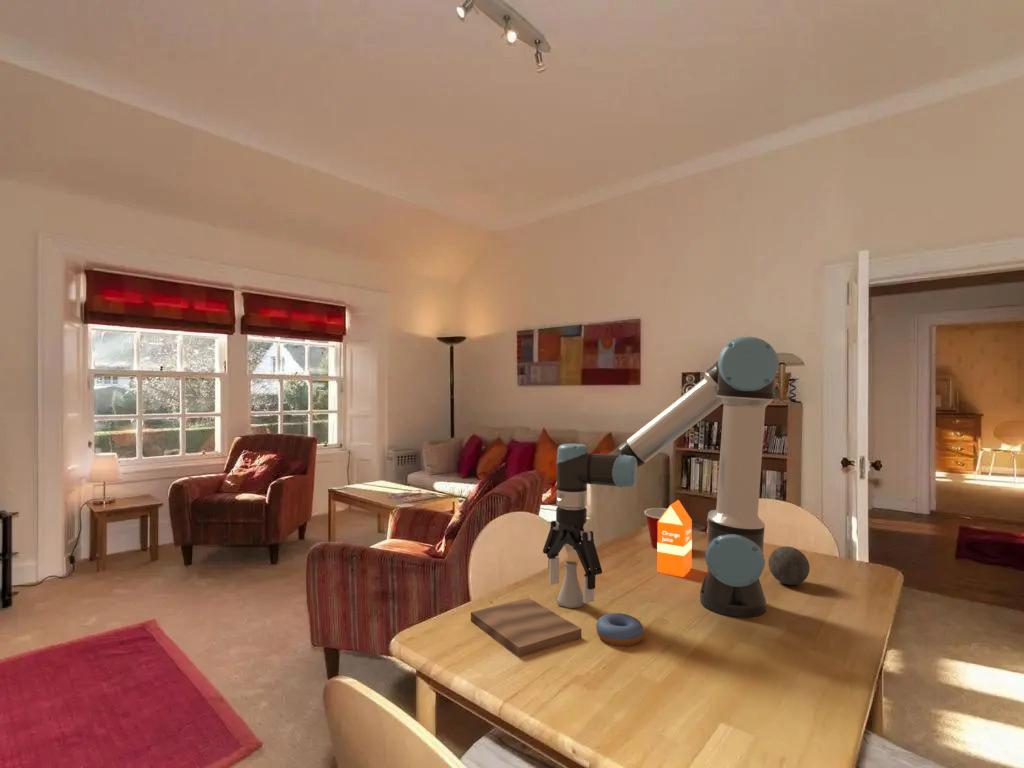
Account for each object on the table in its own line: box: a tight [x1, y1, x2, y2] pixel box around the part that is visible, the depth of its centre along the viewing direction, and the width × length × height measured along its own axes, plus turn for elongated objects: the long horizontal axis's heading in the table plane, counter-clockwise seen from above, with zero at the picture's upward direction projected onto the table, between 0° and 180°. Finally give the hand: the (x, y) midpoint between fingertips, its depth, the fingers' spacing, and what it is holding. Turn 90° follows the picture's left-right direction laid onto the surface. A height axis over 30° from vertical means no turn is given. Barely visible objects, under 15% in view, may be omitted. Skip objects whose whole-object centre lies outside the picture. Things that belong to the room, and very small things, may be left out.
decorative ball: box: [768, 545, 810, 586], centre depth 150 cm, size 10×10×10 cm
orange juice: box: [656, 499, 693, 578], centre depth 160 cm, size 8×9×20 cm
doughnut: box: [595, 612, 644, 647], centre depth 118 cm, size 10×10×5 cm
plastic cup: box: [644, 507, 668, 550], centre depth 183 cm, size 11×11×12 cm
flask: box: [556, 560, 587, 609], centre depth 136 cm, size 7×7×10 cm
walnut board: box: [470, 597, 582, 659], centre depth 121 cm, size 20×16×2 cm
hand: (570, 592), depth 136 cm, fingers open, 13 cm apart
